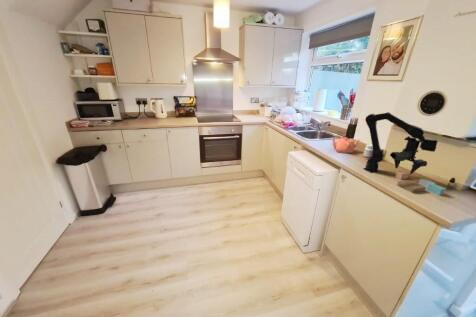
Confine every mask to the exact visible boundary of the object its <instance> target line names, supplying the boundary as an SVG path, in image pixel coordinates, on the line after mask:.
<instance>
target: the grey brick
mask: <svg viewBox="0 0 476 317" xmlns="http://www.w3.org/2000/svg"><path fill="white" fill-rule="evenodd" d="M418 184H420V185H422V186H424V187H426V188H425V190H427V188H428V186H429V184H436V185H437V182H434V181H432V180H429V179H427V178H420V179H419V181H418Z"/></svg>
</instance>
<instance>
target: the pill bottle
mask: <svg viewBox="0 0 476 317" xmlns="http://www.w3.org/2000/svg"><path fill="white" fill-rule="evenodd" d="M365 146H366V147H365V148H364V151H363V154H362V159H364V160H367V161H368V159H369V157H371V156H372V154H373V146H372V144H370V143H369V144H366V145H365Z"/></svg>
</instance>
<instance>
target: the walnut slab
mask: <svg viewBox="0 0 476 317" xmlns="http://www.w3.org/2000/svg"><path fill="white" fill-rule="evenodd" d="M396 186H397V187H399V188H401V189H404V190H406V191H408V192H409V191H410V193H412V194H414V193H422V192H425V190H426V187H424V186H422V185H420V184H419V183H418V182H415V181H413V180H410V179H408V180H407V179H406V180H400V181H398V182H397V184H396Z"/></svg>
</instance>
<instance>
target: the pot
mask: <svg viewBox="0 0 476 317" xmlns="http://www.w3.org/2000/svg"><path fill="white" fill-rule="evenodd" d="M330 139H331V141H332V146H333V149H334V150H336V152H337V153H343V154H352V153H353V152H354V150H355V149H356V147H357V145H358V142H360V141H361V139H356V140H355V142H354V140H353V139H351V138H348V137H344V136H343V135H341V136H340V137H339V138H336V139H335V138H333V137H330ZM335 140H336V141H335Z"/></svg>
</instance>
